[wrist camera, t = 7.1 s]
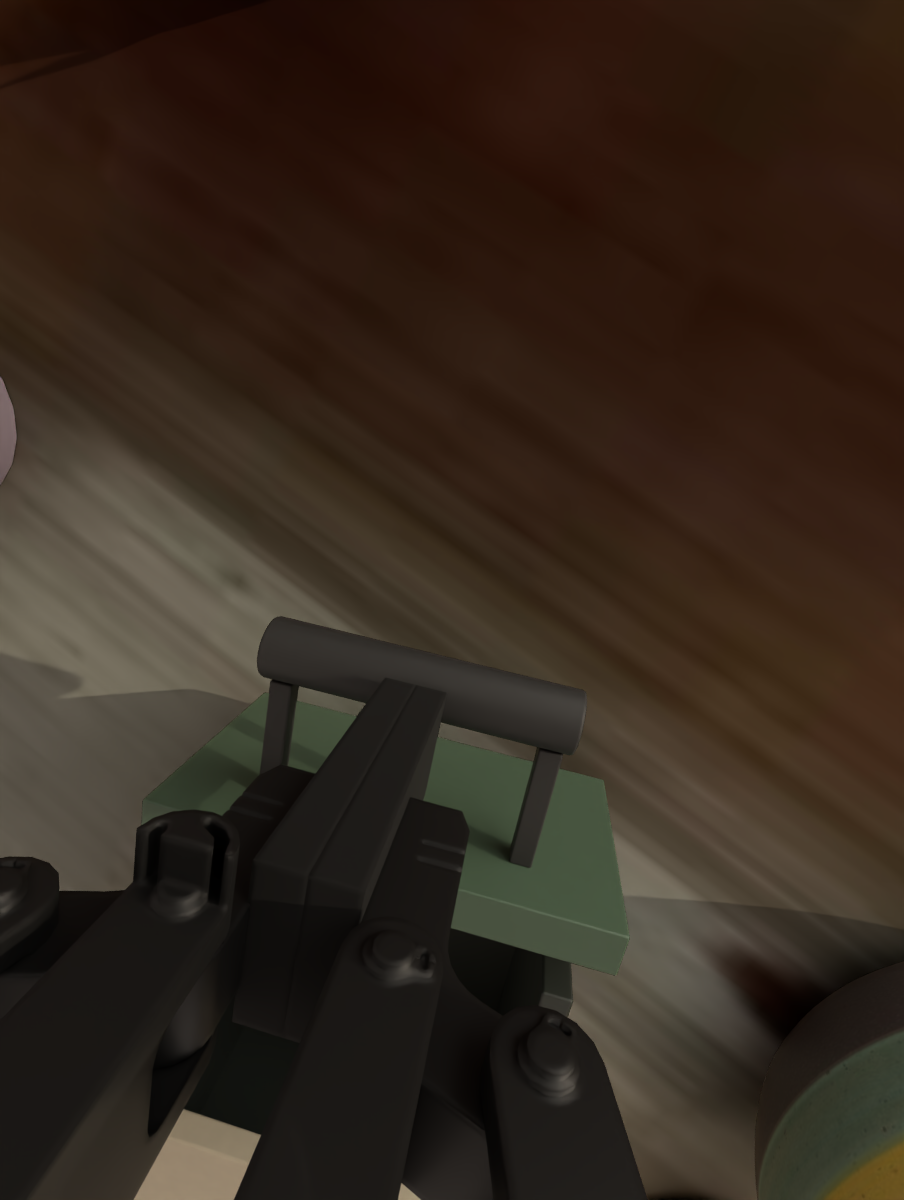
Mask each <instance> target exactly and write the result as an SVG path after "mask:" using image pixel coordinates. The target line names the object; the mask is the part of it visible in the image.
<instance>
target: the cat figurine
mask: <svg viewBox="0 0 904 1200" xmlns="http://www.w3.org/2000/svg"><path fill="white" fill-rule="evenodd" d="M16 440H17V434H16V425H15V416H14V408H13V406H12V403H11V400H10V398H9V395H8V393H7V390H6V387H5V385H4V382H3V380H2V378H1V377H0V485H1V483H2V482H3V480H4V478H5V476H6V474H7V473H8V471H9V469H10V467H11V465H12V463H13V458H14V452H15V446H16Z"/></svg>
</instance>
